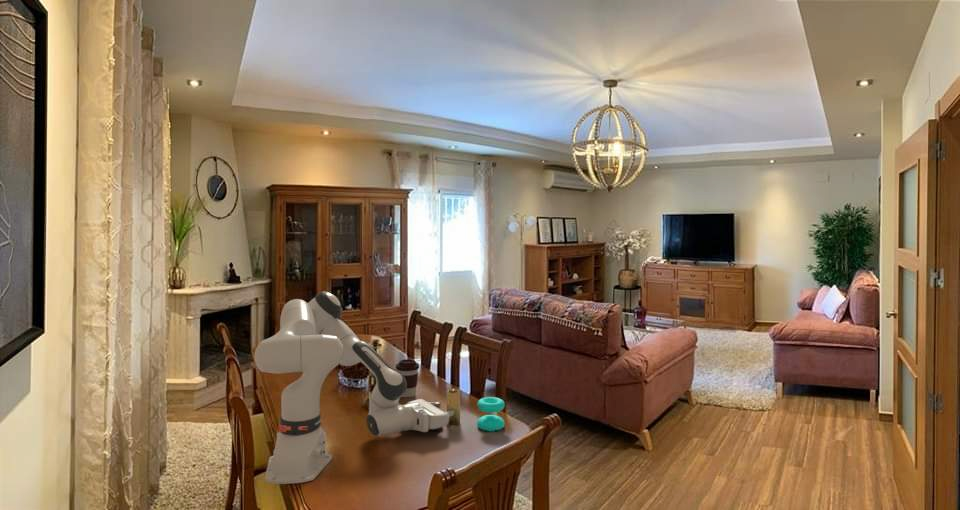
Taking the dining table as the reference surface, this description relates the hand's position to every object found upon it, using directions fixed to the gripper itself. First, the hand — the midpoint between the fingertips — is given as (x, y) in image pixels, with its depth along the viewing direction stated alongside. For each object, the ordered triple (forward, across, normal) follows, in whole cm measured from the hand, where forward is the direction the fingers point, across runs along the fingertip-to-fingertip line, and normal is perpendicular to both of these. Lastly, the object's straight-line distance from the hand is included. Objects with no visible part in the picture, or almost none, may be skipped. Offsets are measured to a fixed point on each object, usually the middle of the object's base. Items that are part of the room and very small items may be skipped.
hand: (446, 408), depth 192 cm
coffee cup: (+4, -38, -7) cm, 38 cm away
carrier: (-5, -2, -6) cm, 8 cm away
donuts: (+12, +11, -6) cm, 18 cm away
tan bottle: (+3, +1, -6) cm, 7 cm away
